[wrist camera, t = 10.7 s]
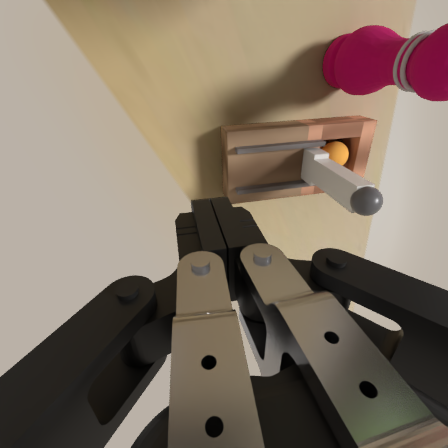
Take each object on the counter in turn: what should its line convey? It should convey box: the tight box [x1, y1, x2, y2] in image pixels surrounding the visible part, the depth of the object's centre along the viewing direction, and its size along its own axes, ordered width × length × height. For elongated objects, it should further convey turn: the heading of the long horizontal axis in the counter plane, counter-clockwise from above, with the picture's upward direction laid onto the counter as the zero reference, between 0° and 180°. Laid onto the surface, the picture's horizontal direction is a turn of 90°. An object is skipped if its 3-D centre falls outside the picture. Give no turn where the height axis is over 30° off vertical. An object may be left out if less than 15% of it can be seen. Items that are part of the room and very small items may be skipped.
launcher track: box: [221, 116, 377, 204], centre depth 40 cm, size 10×21×5 cm, turn 92°
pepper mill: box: [323, 24, 448, 101], centre depth 29 cm, size 7×7×20 cm
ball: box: [322, 141, 349, 166], centre depth 41 cm, size 4×4×4 cm
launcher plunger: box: [301, 147, 383, 216], centre depth 33 cm, size 4×3×14 cm
